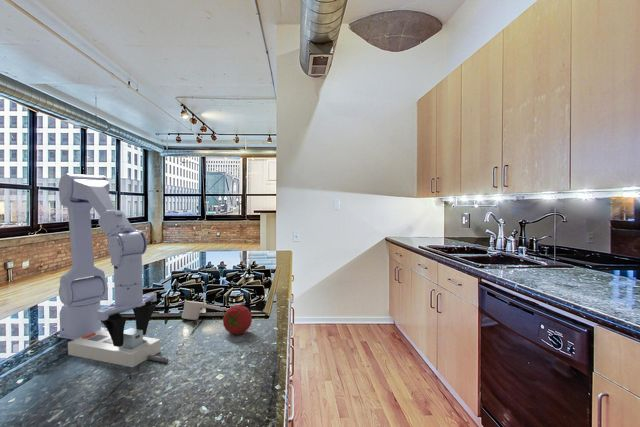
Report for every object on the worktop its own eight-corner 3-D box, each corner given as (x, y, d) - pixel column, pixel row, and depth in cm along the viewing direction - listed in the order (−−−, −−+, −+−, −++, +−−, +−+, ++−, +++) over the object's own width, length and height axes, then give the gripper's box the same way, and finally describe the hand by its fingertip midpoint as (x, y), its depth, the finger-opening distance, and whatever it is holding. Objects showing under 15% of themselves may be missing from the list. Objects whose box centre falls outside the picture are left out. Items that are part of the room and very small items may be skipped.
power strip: (68, 354, 78) (67, 339, 78) (100, 340, 86) (99, 327, 85) (154, 371, 70) (153, 355, 70) (180, 354, 78) (180, 340, 77)
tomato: (243, 297, 94) (229, 300, 87) (261, 317, 92) (248, 321, 85) (226, 318, 95) (211, 322, 88) (244, 338, 92) (229, 344, 85)
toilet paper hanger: (246, 308, 109) (210, 306, 95) (243, 324, 108) (206, 324, 94) (203, 300, 118) (165, 297, 105) (200, 314, 117) (161, 313, 104)
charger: (119, 358, 76) (118, 333, 76) (130, 352, 79) (129, 328, 79) (132, 360, 75) (132, 335, 75) (143, 354, 78) (142, 330, 78)
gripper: (113, 292, 68) (115, 356, 69) (165, 277, 82) (167, 330, 83) (88, 290, 70) (91, 351, 71) (143, 275, 84) (145, 326, 85)
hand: (130, 339), depth 77 cm, fingers open, 6 cm apart
